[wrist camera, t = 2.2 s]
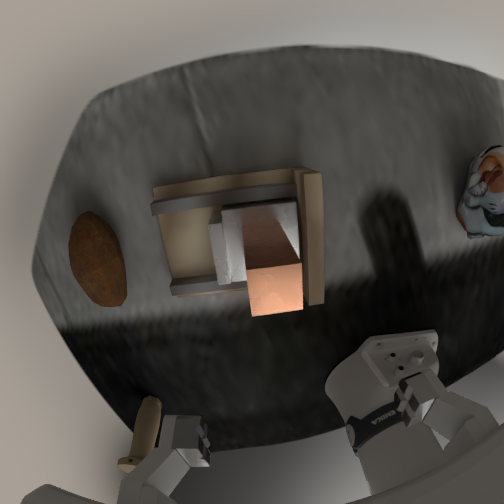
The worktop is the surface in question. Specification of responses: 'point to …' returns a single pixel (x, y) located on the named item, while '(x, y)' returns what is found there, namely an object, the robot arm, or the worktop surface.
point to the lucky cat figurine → (484, 195)
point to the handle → (143, 433)
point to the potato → (97, 260)
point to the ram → (260, 252)
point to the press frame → (211, 200)
